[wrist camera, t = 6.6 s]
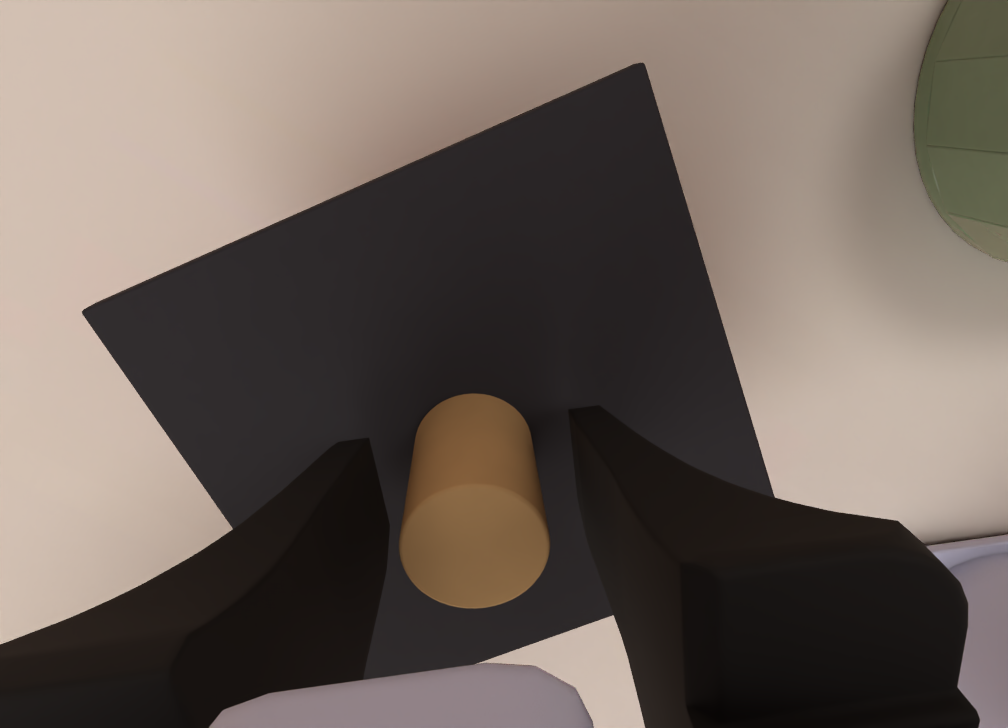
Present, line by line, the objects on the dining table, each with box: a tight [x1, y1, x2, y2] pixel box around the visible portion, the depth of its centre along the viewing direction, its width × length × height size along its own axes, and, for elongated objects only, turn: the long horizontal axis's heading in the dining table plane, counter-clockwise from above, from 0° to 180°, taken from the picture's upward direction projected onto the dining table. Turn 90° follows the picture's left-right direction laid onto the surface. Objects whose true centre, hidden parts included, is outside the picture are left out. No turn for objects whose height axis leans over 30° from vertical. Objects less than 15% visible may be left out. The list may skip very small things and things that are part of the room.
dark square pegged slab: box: [82, 63, 775, 680], centre depth 12 cm, size 11×11×4 cm
